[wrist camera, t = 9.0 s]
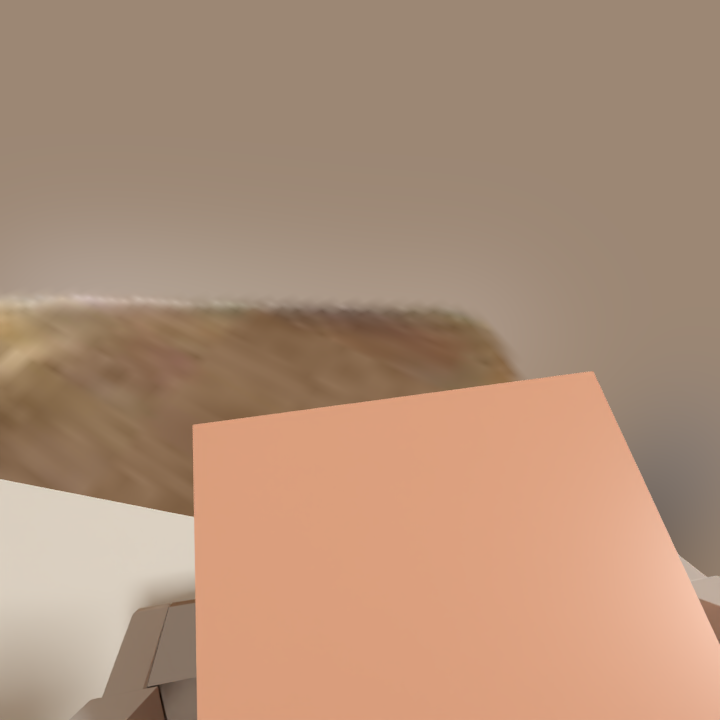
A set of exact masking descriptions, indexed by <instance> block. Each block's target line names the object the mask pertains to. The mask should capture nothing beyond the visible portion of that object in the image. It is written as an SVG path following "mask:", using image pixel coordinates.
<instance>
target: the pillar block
mask: <svg viewBox="0 0 720 720" xmlns="http://www.w3.org/2000/svg"><path fill="white" fill-rule="evenodd" d="M193 474H194V540H195V606H196V672H197V720H720V644H719V642H718V640H717V638H716V635H715V633H714V631H713V629H712V627H711V625H710V622H709V620H708V618H707V616H706V614H705V612H704V610H703V607H702V605H701V603H700V601H699V599H698V597H697V594H696V592H695V590H694V588H693V586H692V584H691V581H690V579H689V577H688V575H687V573H686V571H685V568H684V566H683V564H682V562H681V560H680V558H679V556H678V553H677V551H676V549H675V547H674V545H673V543H672V540H671V538H670V536H669V534H668V532H667V530H666V528H665V526H664V523H663V521H662V519H661V517H660V515H659V513H658V510H657V508H656V506H655V504H654V502H653V499H652V497H651V495H650V493H649V491H648V489H647V487H646V484H645V482H644V480H643V478H642V476H641V474H640V471H639V469H638V467H637V465H636V463H635V461H634V459H633V456H632V454H631V452H630V450H629V448H628V445H627V443H626V441H625V439H624V437H623V435H622V432H621V430H620V428H619V426H618V424H617V422H616V420H615V417H614V415H613V413H612V411H611V409H610V407H609V405H608V402H607V400H606V398H605V396H604V394H603V392H602V389H601V387H600V385H599V383H598V381H597V379H596V376H595V374H594V372H593V371H590V372H583V373H575V374H568V375H560V376H553V377H546V378H538V379H531V380H523V381H516V382H508V383H501V384H493V385H486V386H479V387H471V388H464V389H456V390H449V391H442V392H434V393H427V394H419V395H412V396H404V397H397V398H390V399H382V400H375V401H367V402H360V403H353V404H345V405H338V406H330V407H323V408H315V409H308V410H301V411H293V412H286V413H278V414H271V415H264V416H256V417H249V418H241V419H234V420H226V421H219V422H212V423H204V424H197V425H193Z"/></svg>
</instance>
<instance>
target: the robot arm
mask: <svg viewBox="0 0 720 720" xmlns="http://www.w3.org/2000/svg"><path fill="white" fill-rule="evenodd" d="M678 556H679V555H678ZM679 558H680V560H681V562H682V564H683V566H684V568H685V571H686V573H687V575H688V577H689V579H690V581H691V584H692V586H693V588H694V590H695V592H696V594H697V597H698V599H699V601H700V603H701V605H702V607H703V610H704V612H705V614H706V616H707V618H708V620H709V622H710V625H711V627H712V629H713V631H714V633H715V635H716V638H717V640H718V642H719V644H720V577H718V576H712V577H706V576H705V575H703V574H702V573H701V572H700V571H698V570H697V569H696V568H695V567H693V566H692V565H691V564H690V563H688V562H687V561H686V560H684V559H683V558H682V557H681V556H679ZM69 720H197V672H196V606H195V599H192V600H186V601H180V602H173V603H172V604H170V603H167V604H162V605H156V606H150V607H145V608H139V609H138V610H137V611H136V612H134V614H133V615H132V617H131V620H130V622H129V625H128V628H127V631H126V633H125V636H124V639H123V641H122V644H121V647H120V650H119V652H118V655H117V658H116V660H115V663H114V666H113V668H112V671H111V674H110V677H109V679H108V682H107V685H106V687H105V690H104V693H103V696H102V697H101V698H96V699H91V700H90V701H89V702H88V703H87V704H85V705H84V706H83V707H82V708H81V709H80V710H79V711H78V712H77V713H76V714H75V715H74V716H73V717H72V718H71V719H69Z"/></svg>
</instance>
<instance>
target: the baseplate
mask: <svg viewBox="0 0 720 720" xmlns="http://www.w3.org/2000/svg"><path fill="white" fill-rule="evenodd" d="M192 599H195V540H194V517H190V516H185V515H180V514H175V513H170V512H165V511H160V510H155V509H150V508H144V507H139V506H134V505H129V504H124V503H119V502H114V501H109V500H104V499H98V498H93V497H88V496H83V495H78V494H73V493H68V492H63V491H58V490H53V489H47V488H42V487H37V486H32V485H27V484H22V483H17V482H12V481H7V480H1V479H0V720H69V719H71V718H72V717H73V716H74V715H75V714H76V713H77V712H78V711H79V710H80V709H81V708H82V707H83V706H84V705H85V704H87V703H88V702H89V701H90V700H91V699H96V698H101V697H102V696H103V693H104V690H105V687H106V685H107V682H108V679H109V677H110V674H111V671H112V668H113V666H114V663H115V660H116V658H117V655H118V652H119V650H120V647H121V644H122V641H123V639H124V636H125V633H126V631H127V628H128V625H129V622H130V620H131V617H132V615H133V614H134V612H136V611H137V610H138V609H139V608H145V607H150V606H156V605H162V604H167V603H170V604H172V603H173V602H180V601H186V600H192Z"/></svg>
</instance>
